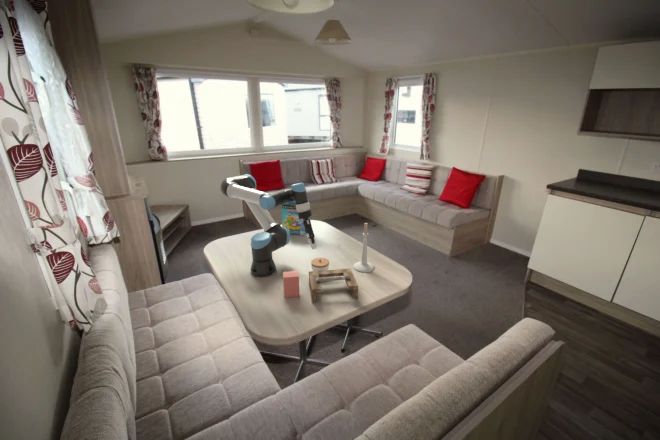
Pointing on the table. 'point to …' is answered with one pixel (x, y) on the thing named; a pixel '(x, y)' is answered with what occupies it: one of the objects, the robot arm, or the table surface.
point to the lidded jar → (320, 264)
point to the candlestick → (364, 255)
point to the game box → (292, 219)
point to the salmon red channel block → (291, 284)
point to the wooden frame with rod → (329, 275)
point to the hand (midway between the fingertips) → (312, 246)
